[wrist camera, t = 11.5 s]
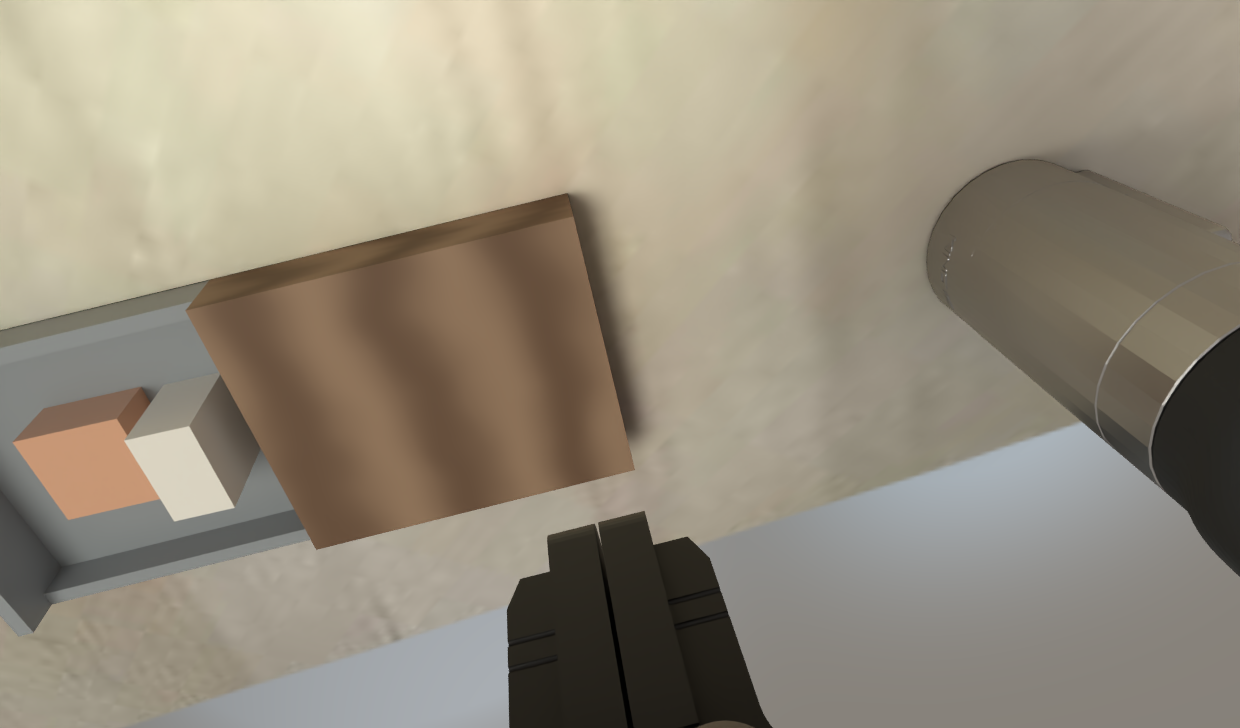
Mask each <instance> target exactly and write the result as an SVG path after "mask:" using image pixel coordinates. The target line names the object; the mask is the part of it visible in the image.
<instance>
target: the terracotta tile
mask: <svg viewBox="0 0 1240 728" xmlns="http://www.w3.org/2000/svg"><path fill="white" fill-rule="evenodd" d="M149 405H150V401H149V400H148V398H147V396H146V394H145V393H144V391H143V389H142V388H141V387H137V388H133V389H128V390H124V391H119V392H115V393H110V394H106V395H101V396H97V397H92V398H88V399H83V400H79V401H75V402H70V403H66V404H61V405H57V406H52V407H48V408H43V410H42V411H41V412H40V413H39V414H38V415H37V416H36V417H35V418H34V419H33V420H32V421H31V423H30V424H29V425H28V426H27V427H26V428H25V429H24V430H23V431H22V432H21V433H20V434H19V436H18V437H17V438H16V439H15V440H14V441H13V442H12V443H13V444H14V445H15V447H16V448H17V449H18V451H19V452H20V454H21V455H22V456H23V458H24V459H25V461H26V462H27V463H28V465H29V466H30V468H31V469H32V470H33V472H34V473H35V475H36V476H37V477H38V479H39V480H40V481H41V483H42V484H43V486H44V487H45V488H46V490H47V491H48V493H49V494H50V495H51V497H52V498H53V500H54V501H55V502H56V504H57V505H58V507H59V508H60V509H61V511H62V512H63V513H64V515H65V516H66V518H67V519H68V520H71V519H75V518H79V517H84V516H88V515H93V514H97V513H101V512H106V511H110V510H114V509H119V508H123V507H127V506H132V505H136V504H141V503H145V502H149V501H154V500H158V499H160V498H159V496H158V495H157V493H156V491H155V490H154V488H153V487H152V485H151V483H150V482H149V480H148V478H147V477H146V475H145V474H144V472H143V470H142V469H141V467H140V466H139V464H138V462H137V461H136V459H135V458H134V456H133V454H132V453H131V451H130V449H129V448H128V446H127V445H126V443H125V441H124V440H125V439H126V437H127V436H128V434H129V433H130V432H131V430H132V429H133V427H134V426H135V424H136V423H137V422H138V420H139V419H140V417H141V416H142V415H143V413H144V412H145V410H146V409H147V408H148V406H149Z"/></svg>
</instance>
